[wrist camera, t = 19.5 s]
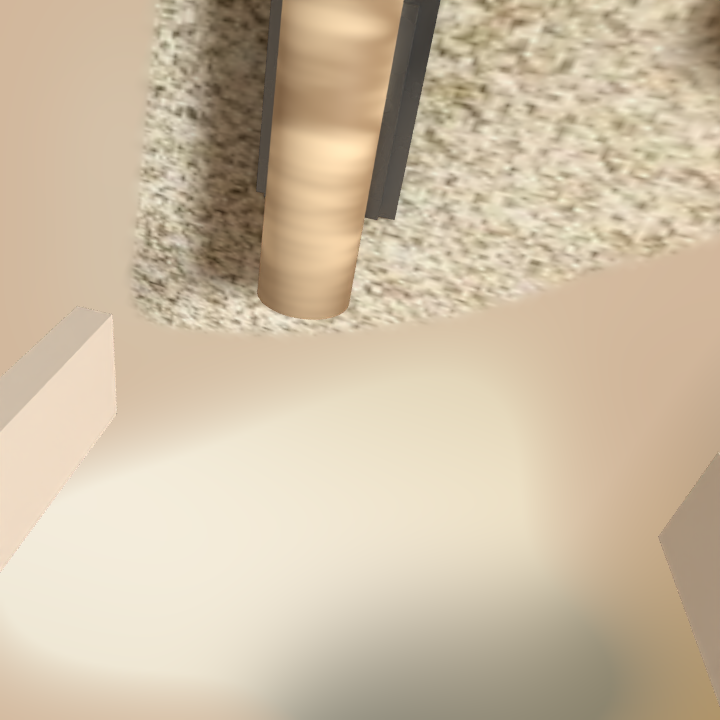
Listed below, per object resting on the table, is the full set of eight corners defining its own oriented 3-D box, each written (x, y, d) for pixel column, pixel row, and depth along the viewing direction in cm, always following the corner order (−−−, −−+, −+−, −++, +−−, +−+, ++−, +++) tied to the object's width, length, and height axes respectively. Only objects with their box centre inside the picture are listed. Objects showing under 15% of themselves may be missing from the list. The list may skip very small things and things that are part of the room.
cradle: (276, -37, 29) (263, -38, 27) (441, -3, 29) (440, -2, 27) (258, 188, 35) (246, 202, 33) (395, 216, 35) (391, 232, 33)
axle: (323, -115, 26) (271, -139, 22) (435, -96, 25) (401, -116, 21) (282, 267, 36) (240, 300, 32) (361, 292, 35) (328, 329, 31)
